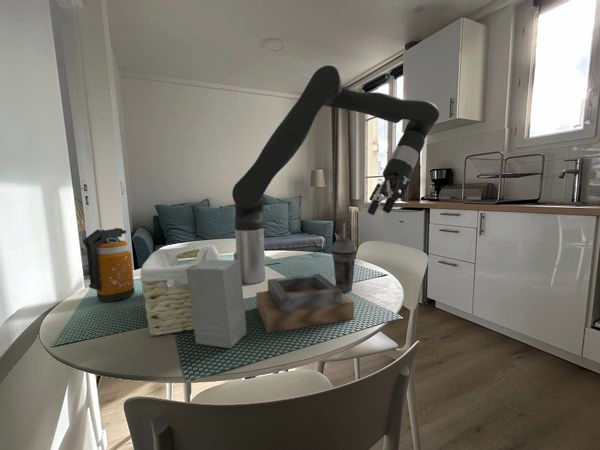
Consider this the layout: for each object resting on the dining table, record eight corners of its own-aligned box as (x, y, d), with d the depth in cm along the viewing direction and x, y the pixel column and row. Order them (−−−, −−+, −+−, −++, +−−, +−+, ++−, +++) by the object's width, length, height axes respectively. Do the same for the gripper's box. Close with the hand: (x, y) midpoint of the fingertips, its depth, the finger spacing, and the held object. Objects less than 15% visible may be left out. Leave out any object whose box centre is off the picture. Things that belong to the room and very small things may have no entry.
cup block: (267, 333, 59) (266, 300, 59) (256, 307, 73) (255, 280, 72) (353, 318, 65) (353, 289, 64) (329, 297, 79) (329, 272, 78)
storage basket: (157, 300, 79) (153, 248, 77) (218, 292, 85) (215, 243, 83) (143, 342, 57) (136, 270, 55) (226, 328, 62) (223, 261, 61)
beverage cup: (355, 285, 88) (355, 221, 86) (357, 294, 81) (358, 223, 78) (331, 285, 89) (331, 221, 86) (331, 293, 81) (331, 224, 79)
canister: (141, 294, 84) (135, 226, 82) (102, 308, 74) (94, 232, 72) (122, 290, 88) (115, 225, 86) (82, 303, 78) (74, 230, 76)
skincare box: (247, 334, 59) (244, 259, 57) (228, 352, 52) (223, 268, 51) (212, 328, 62) (208, 256, 60) (190, 345, 55) (184, 265, 53)
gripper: (378, 164, 91) (356, 208, 88) (405, 151, 77) (380, 203, 74) (396, 176, 92) (375, 220, 90) (426, 166, 78) (402, 217, 76)
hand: (377, 212), depth 82 cm, fingers open, 8 cm apart
